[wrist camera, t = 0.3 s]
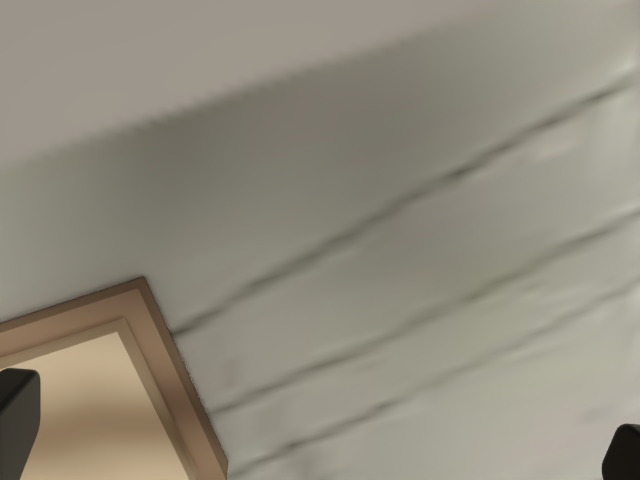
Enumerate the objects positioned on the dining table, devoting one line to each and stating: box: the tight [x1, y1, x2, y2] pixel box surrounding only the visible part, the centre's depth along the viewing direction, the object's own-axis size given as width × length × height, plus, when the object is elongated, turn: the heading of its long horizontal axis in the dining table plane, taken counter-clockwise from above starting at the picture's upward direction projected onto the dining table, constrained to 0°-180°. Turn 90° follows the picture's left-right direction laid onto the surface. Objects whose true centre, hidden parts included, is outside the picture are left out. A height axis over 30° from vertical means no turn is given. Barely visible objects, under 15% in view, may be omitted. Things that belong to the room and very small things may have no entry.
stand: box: [0, 277, 228, 480], centre depth 24 cm, size 10×10×2 cm
